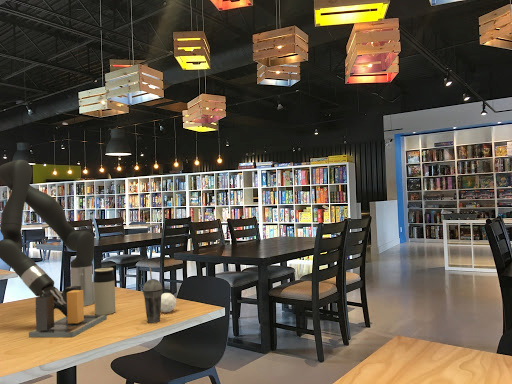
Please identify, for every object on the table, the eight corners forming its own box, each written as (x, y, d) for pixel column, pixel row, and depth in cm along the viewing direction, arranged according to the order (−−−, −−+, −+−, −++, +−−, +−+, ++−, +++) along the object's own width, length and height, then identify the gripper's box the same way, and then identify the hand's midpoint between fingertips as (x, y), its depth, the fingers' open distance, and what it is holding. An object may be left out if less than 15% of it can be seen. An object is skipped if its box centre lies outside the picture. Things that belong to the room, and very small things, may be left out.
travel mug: (108, 315, 168) (107, 270, 169) (90, 315, 170) (89, 270, 171) (119, 310, 176) (117, 267, 177) (101, 310, 178) (100, 267, 178)
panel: (68, 319, 166) (67, 285, 166) (106, 318, 163) (105, 285, 164) (29, 337, 143) (28, 298, 143) (72, 337, 141) (71, 298, 141)
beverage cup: (167, 319, 159) (165, 265, 160) (156, 324, 152) (154, 268, 153) (150, 318, 161) (149, 265, 162) (139, 323, 154) (137, 268, 155)
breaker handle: (73, 320, 155) (73, 290, 156) (84, 320, 155) (83, 290, 155) (67, 323, 151) (66, 292, 152) (77, 323, 151) (77, 292, 151)
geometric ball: (167, 317, 172) (172, 299, 177) (177, 313, 167) (181, 294, 172) (150, 311, 169) (156, 292, 174) (160, 306, 164) (166, 287, 169)
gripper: (31, 276, 149) (64, 311, 147) (55, 270, 162) (85, 302, 160) (18, 291, 149) (51, 326, 147) (42, 284, 163) (73, 316, 160)
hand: (69, 313), depth 153 cm, fingers closed
